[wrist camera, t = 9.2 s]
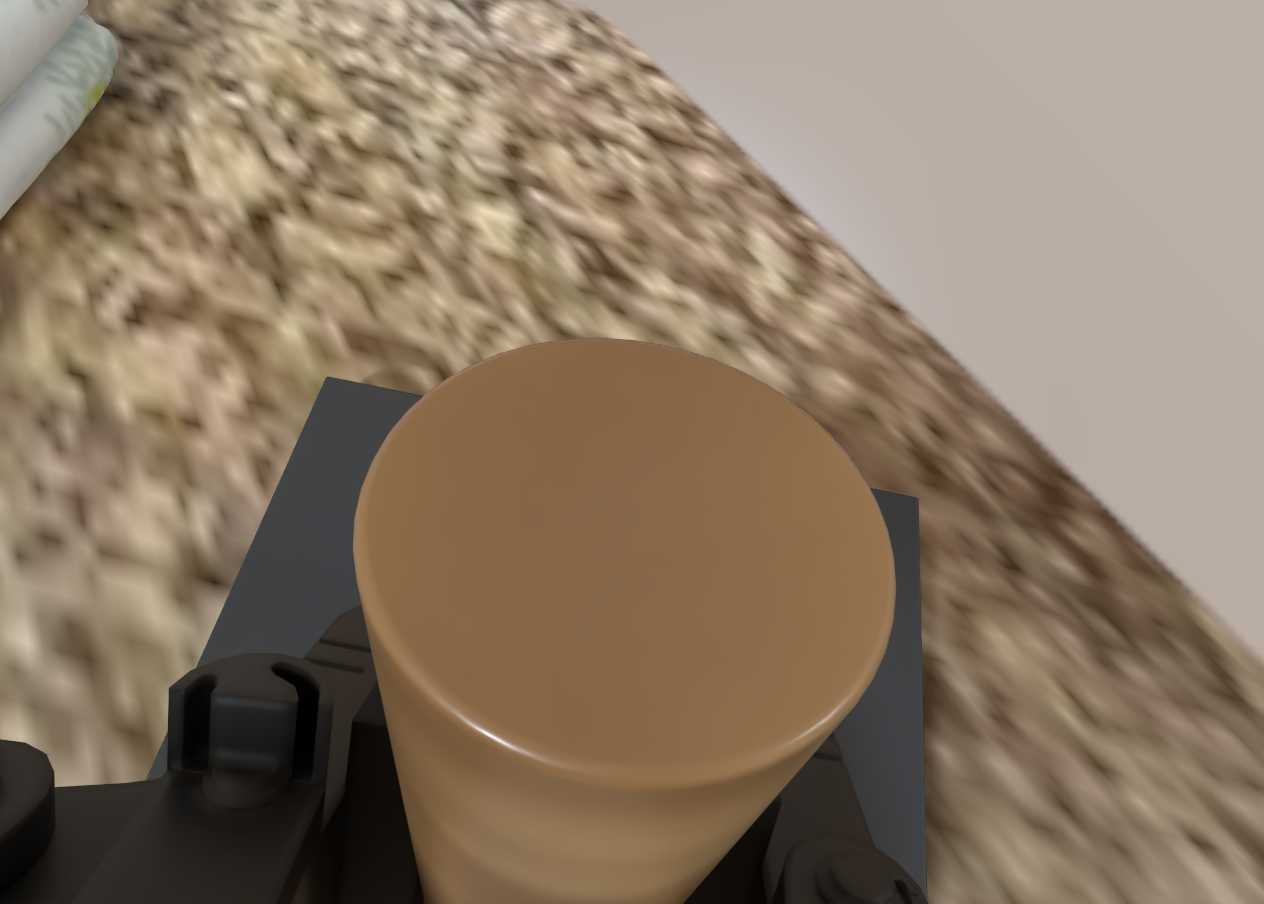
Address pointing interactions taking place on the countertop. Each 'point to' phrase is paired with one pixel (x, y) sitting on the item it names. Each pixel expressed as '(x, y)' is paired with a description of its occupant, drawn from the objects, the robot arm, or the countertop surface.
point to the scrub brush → (610, 616)
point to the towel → (46, 84)
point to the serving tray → (327, 587)
